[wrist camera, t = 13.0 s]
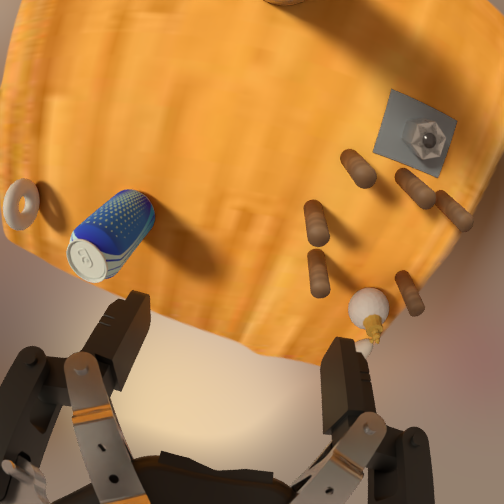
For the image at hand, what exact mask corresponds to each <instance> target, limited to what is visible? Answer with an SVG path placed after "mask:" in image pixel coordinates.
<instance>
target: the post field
mask: <svg viewBox="0 0 504 504" xmlns="http://www.w3.org/2000/svg"><path fill="white" fill-rule="evenodd" d="M340 160H341V163H342V164H343V166H344V167H345V169H346V170H347V172H348V173H349V174H350V176H351V177H352V179H353V180H354V182H355V183H356V185H357V186H358V187H360V188H364V189H366V188H370V187H372V186H373V185H374V184H375V182H376V179H377V175H376V172H375V170H374V169H373V168H372V167H371V166H370V165H369V164H368V163H367V162H366V161H365V160H364V159H363V158H362V157H361V156H360V155H359V154H358V153H357V152H356V151H355V150H353V149H347V150H345V151H343V152H342V154H341V157H340ZM395 181H396V183H397V184H398V185H399V186H400V187H401V188H402V189H403V190H404V191H405V192H406V193H407V194H408V195H409V196H410V197H411V198H412V199H413V200H414V201H415V202H416V203H417V204H418V205H419V207H420V208H422V209H430V208H431V207H433V205H434V204H435V205H436V206H437V207H438V208H439V209H440V210H441V211H442V212H443V213H444V214H445V215H446V216H447V217H448V218H449V219H450V220H451V221H452V222H453V223H454V224H455V225H456V226H457V228H458V229H459V230H460V231H462V232H467V231H469V230H470V229H471V228H472V226H473V223H474V219H473V216H472V215H471V214H470V213H469V212H467V211H466V210H465V209H464V208H463V207H462V206H461V205H460V204H459V203H457V202H456V201H455V200H454V199H453V198H452V197H450V196H449V195H448V194H447V193H446V192H445V191H443V190H439V191H437V192H436V193H435V192H434V191H433V190H432V189H431V188H429V187H428V186H427V185H426V184H425V183H424V182H422V181H421V180H420V179H419V178H418V177H416V176H415V175H414V174H413V173H411V172H410V171H409V170H408V169H406V168H401V169H399V170H398V171H397V172H396V174H395ZM304 215H305V222H306V230H307V237H308V241H309V243H310V244H311V245H313V246H315V247H321V246H324V245H325V244H327V243H328V241H329V239H330V234H329V230H328V227H327V223H326V219H325V216H324V212H323V208H322V205H321V203H320V202H319V201H317V200H309V201H307V202H306V203H305V205H304ZM307 258H308V268H309V278H310V289H311V294H312V295H313V296H314V297H316V298H324V297H326V296H328V295H329V293H330V284H329V278H328V273H327V267H326V262H325V257H324V253H323V251H322V250H320V249H313V250H311V251H310V252H309V253H308V255H307ZM395 281H396V283H397V285H398V288H399V290H400V292H401V294H402V297H403V299H404V302H405V304H406V306H407V309H408V311H409V314H410V315H411V316H418V315H420V314H422V313H423V311H424V310H425V306H424V304H423V302H422V299H421V297H420V296H419V293H418V291H417V289H416V287H415V285H414V283H413V281H412V279H411V277H410V275H409V274H408V272H407V271H405V270H402V271H400V272H398V273H397V274H396V276H395Z"/></svg>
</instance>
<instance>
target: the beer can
mask: <svg viewBox="0 0 504 504" xmlns="http://www.w3.org/2000/svg"><path fill="white" fill-rule="evenodd" d="M154 222H155V212H154V208H153V206H152V204H151V202H150V200H149V199H148V198H147V197H146V196H145V195H144V194H142V193H140V192H138V191H136V190H131V189H127V190H123V191H120V192H119V193H117V194H116V195H115V196H113V197H112V198H111V199H110V200H109V201H107V202H106V203H105V204H104V205H102V206H101V207H100V208H99V209H98V210H96V211H95V212H94V213H93V214H92V215H90V216H89V217H88V218H87V219H86V220H85V221H83V222H82V223H81V224H80V225H79V226H78V227H77V228H76V229H75V230H74V231H73V233H72V235H71V238H70V244H69V245H68V247H67V259H68V262H69V264H70V266H71V268H72V269H73V270H74V272H75V273H76V274H77V275H78V276H79V277H81V278H82V279H84V280H86V281H88V282H92V283H98V282H101V281H103V280H104V279H107V278H111V277H113V276H114V275H116V274H117V273H118V271H119V270H120V269H121V267H122V266H123V265H124V263H125V262H126V261H127V259H128V258H129V257H130V255H131V254H132V253H133V252H134V250H135V249H136V248H137V246H138V245H139V244H140V243H141V241H142V240H143V239H144V237H145V236H146V235H147V234H148V232H149V231H150V230H151V229H152V227H153V225H154Z"/></svg>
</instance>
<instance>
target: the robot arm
mask: <svg viewBox="0 0 504 504" xmlns="http://www.w3.org/2000/svg"><path fill="white" fill-rule="evenodd" d="M264 1H266V2H269V3H272V4H276V5H293V4H298V3H300V2H303V1H305V0H264ZM150 322H151V314H150V296H149V294H145V293H141V292H138V291H134V290H132V291H131V292H130V294H129V295H128V297H127V298H126V300H122V299H117V300H116V301H115V302H113V303H112V304H110V305H109V307H108V308H107V310H106V311H105V313H104V316H102V318H101V319H100V321H99V323H98V324H97V326H96V327H95V329H94V330H93V332H92V334H91V335H90V337H89V339H88V340H87V342H86V344H85V346H84V347H83V349H82V350H81V351H80V352H76V353H73V354H72V355H70V356H69V357H68V358H58V357H49V356H46V355H45V353H44V351H43V350H42V349H40V348H39V347H36V346H30V347H26V348H24V349H22V350H21V351H20V352H19V354H18V356H17V357H16V359H15V361H14V363H13V364H12V366H11V368H10V369H9V371H8V373H7V375H6V377H5V379H4V380H3V382H2V384H1V386H0V504H345V502H346V501H347V500H348V498H349V497H350V495H351V494H352V493H353V492H354V490H355V489H356V488H357V486H358V485H359V483H360V482H361V480H362V479H363V476H364V473H363V470H364V468H365V467H367V468H368V504H435V500H434V486H433V474H432V465H431V457H430V448H429V441H428V437H427V435H426V433H425V432H424V431H423V430H422V429H420V428H418V427H410V428H408V429H407V430H405V431H401V430H398V429H395V428H392V427H389V426H387V425H386V423H385V421H384V419H383V418H382V417H381V416H380V415H378V414H377V413H376V408H375V402H374V396H373V390H372V385H371V382H370V381H371V379H370V375H369V368H368V363H367V361H366V359H365V357H364V356H363V354H362V352H356V347H355V342H354V340H353V339H348V338H342V337H336V338H335V339H334V340H333V342H332V344H331V345H330V347H329V349H328V350H327V352H326V354H325V355H324V357H323V359H322V362H321V367H320V374H321V393H322V416H323V434H327V435H332V441H331V442H330V443H329V444H328V445H327V447H326V448H325V449H324V450H323V451H322V452H321V453H320V455H319V456H318V457H317V458H316V459H315V460H314V462H313V463H312V464H311V465H310V466H309V467H308V469H307V470H305V472H304V473H302V474H301V475H300V476H299V477H298V478H297V479H296V480H295V481H294V482H292V484H291V485H290V486H288V485H287V484H285V483H284V482H282V481H280V480H278V479H275V478H273V472H266V471H258V470H250V469H241V470H240V469H239V470H222V471H217V470H213V469H211V468H209V467H207V466H204V465H202V464H200V463H198V462H196V461H194V460H192V459H190V458H187V457H182V456H179V455H175V454H171V453H168V452H164V451H161V453H160V456H157V455H154V456H144V457H139V458H136V459H134V458H133V456H132V454H131V451H130V449H129V447H128V444H127V442H126V440H125V438H124V435H123V433H122V430H121V427H120V424H119V422H118V419H117V416H116V413H115V410H114V408H113V405H112V401H111V399H110V397H111V394H112V392H113V390H114V389H115V390H118V391H120V392H121V391H122V389H123V386H124V384H125V382H126V380H127V377H128V375H129V373H130V371H131V368H132V366H133V363H134V362H135V359H136V357H137V355H138V353H139V350H140V348H141V346H142V344H143V341H144V339H145V337H146V335H147V333H148V330H149V327H150ZM62 405H65V406H72V410H73V416H72V421H73V427H74V430H75V434H76V437H77V441H78V444H79V447H80V451H81V454H82V456H83V460H84V463H85V466H86V468H87V471H88V474H89V477H90V479H91V482H92V483H90V484H88V485H86V486H84V487H82V488H80V489H79V490H77V491H75V492H73V493H71V494H69V495H67V496H64V497H62V498H61V499H58V500H56V501H54V502H52V503H50V502H49V500H48V498H47V496H46V479H45V476H44V474H43V473H42V472H41V470H40V469H39V467H40V464H41V461H42V458H43V455H44V452H45V449H46V447H47V444H48V441H49V438H50V436H51V433H52V430H53V428H54V425H55V423H56V420H57V418H58V415H59V412H60V410H61V408H62Z"/></svg>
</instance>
